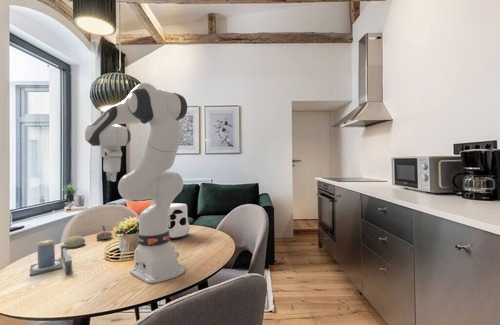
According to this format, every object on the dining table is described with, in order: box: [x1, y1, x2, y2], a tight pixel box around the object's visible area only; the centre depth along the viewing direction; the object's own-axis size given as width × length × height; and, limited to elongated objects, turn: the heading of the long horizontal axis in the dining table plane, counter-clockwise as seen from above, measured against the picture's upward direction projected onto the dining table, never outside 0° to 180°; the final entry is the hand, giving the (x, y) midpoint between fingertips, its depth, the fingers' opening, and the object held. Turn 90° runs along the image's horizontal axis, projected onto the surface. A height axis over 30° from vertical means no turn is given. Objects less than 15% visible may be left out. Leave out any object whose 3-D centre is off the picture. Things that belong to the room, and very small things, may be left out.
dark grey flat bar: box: [60, 244, 73, 276], centre depth 107 cm, size 26×2×5 cm, turn 40°
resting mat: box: [29, 258, 63, 277], centre depth 103 cm, size 12×10×1 cm
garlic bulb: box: [96, 224, 113, 241], centre depth 141 cm, size 8×7×8 cm
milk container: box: [168, 202, 190, 240], centre depth 143 cm, size 17×17×18 cm
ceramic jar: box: [36, 239, 56, 268], centre depth 103 cm, size 6×6×10 cm
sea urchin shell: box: [63, 235, 86, 249], centre depth 131 cm, size 9×8×8 cm
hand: (111, 181), depth 124 cm, fingers open, 8 cm apart
